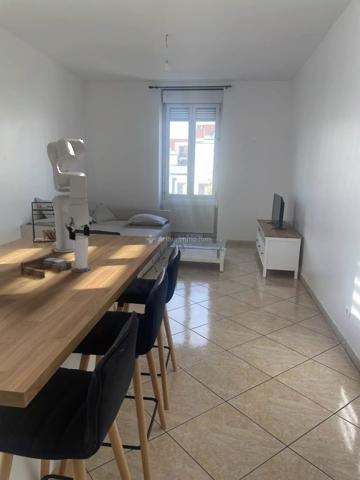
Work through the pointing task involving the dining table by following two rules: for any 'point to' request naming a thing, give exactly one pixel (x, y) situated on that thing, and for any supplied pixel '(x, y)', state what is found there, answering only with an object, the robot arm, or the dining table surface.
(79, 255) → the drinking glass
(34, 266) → the walnut cubby
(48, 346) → the dining table surface
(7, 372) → the dining table surface
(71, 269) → the felt coaster
